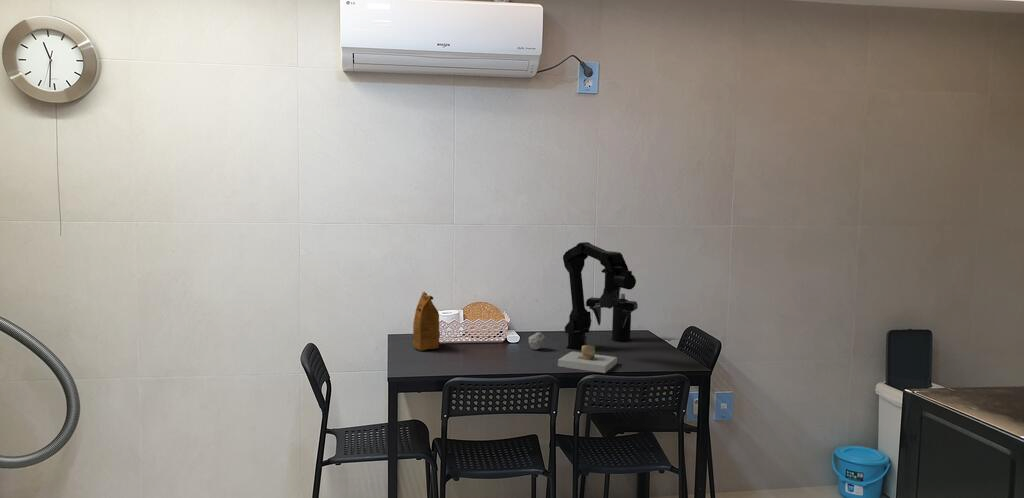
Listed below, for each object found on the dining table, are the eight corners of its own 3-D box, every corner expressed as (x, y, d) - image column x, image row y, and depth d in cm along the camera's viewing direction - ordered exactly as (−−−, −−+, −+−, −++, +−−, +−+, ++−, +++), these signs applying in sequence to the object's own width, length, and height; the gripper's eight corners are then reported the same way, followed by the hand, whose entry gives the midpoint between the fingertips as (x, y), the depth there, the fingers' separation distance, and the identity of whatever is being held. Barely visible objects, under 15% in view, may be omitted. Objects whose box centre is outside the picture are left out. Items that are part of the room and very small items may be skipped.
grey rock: (542, 352, 283) (542, 334, 282) (525, 350, 285) (525, 333, 285) (546, 348, 289) (547, 331, 288) (530, 347, 291) (530, 330, 290)
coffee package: (434, 343, 295) (434, 290, 292) (441, 350, 283) (441, 295, 281) (410, 344, 292) (410, 291, 289) (416, 352, 280) (416, 296, 277)
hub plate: (557, 366, 263) (558, 359, 263) (571, 357, 275) (571, 351, 275) (604, 372, 255) (605, 366, 255) (616, 363, 268) (616, 357, 267)
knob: (597, 363, 266) (598, 346, 265) (593, 366, 262) (593, 349, 261) (582, 361, 269) (582, 344, 268) (577, 364, 264) (578, 347, 264)
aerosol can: (618, 343, 300) (620, 296, 298) (607, 338, 308) (608, 292, 306) (634, 341, 304) (636, 294, 302) (623, 337, 312) (624, 291, 309)
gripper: (581, 286, 267) (580, 327, 268) (630, 290, 259) (628, 333, 260) (591, 282, 277) (590, 322, 278) (638, 286, 269) (637, 327, 270)
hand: (610, 326), depth 271 cm, fingers open, 9 cm apart
